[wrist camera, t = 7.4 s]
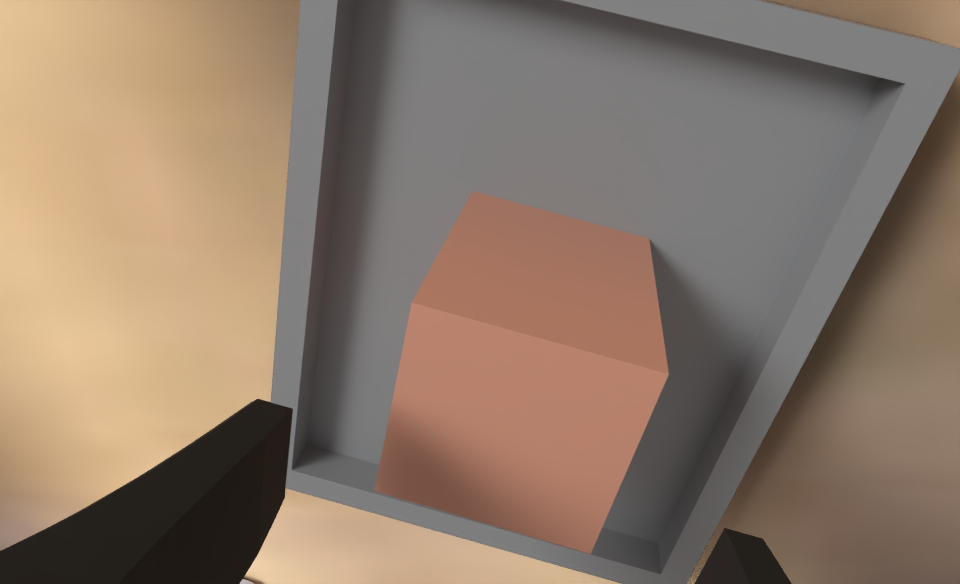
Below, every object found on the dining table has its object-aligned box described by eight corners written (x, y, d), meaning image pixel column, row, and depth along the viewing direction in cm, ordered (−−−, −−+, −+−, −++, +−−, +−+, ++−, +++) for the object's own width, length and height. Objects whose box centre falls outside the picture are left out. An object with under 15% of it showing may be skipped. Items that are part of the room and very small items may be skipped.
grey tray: (673, 552, 22) (678, 599, 20) (288, 444, 23) (264, 482, 21) (929, 39, 14) (969, 51, 13) (339, -102, 15) (308, -107, 13)
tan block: (595, 383, 19) (590, 554, 14) (438, 339, 19) (374, 491, 14) (649, 238, 17) (669, 373, 11) (472, 190, 17) (412, 303, 12)
